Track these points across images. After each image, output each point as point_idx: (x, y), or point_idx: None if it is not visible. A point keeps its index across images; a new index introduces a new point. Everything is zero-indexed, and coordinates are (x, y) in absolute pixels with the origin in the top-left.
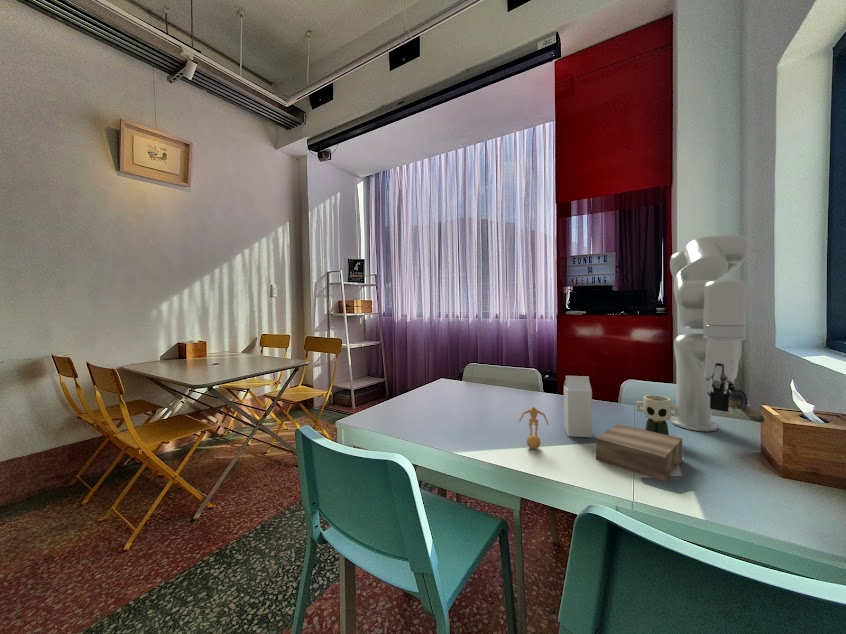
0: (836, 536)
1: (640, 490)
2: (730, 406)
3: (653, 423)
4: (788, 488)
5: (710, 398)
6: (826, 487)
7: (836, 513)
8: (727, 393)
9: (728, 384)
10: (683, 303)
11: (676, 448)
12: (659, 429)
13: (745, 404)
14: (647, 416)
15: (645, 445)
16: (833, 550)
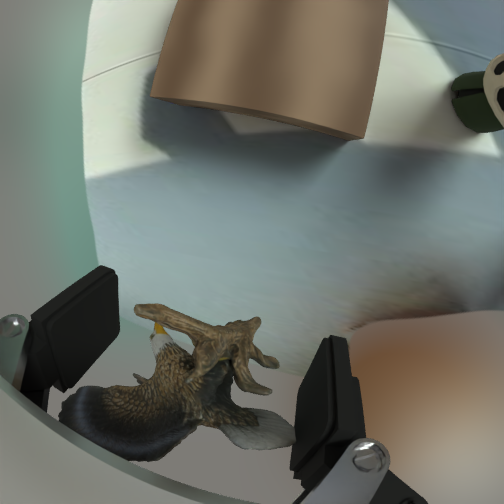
0: (153, 329)
1: (116, 78)
2: (156, 361)
3: (482, 82)
4: (297, 326)
5: (61, 292)
6: None
7: None
8: (306, 418)
9: (306, 480)
10: None
11: (282, 116)
12: (472, 100)
13: (73, 397)
14: (490, 61)
15: (213, 37)
16: None
